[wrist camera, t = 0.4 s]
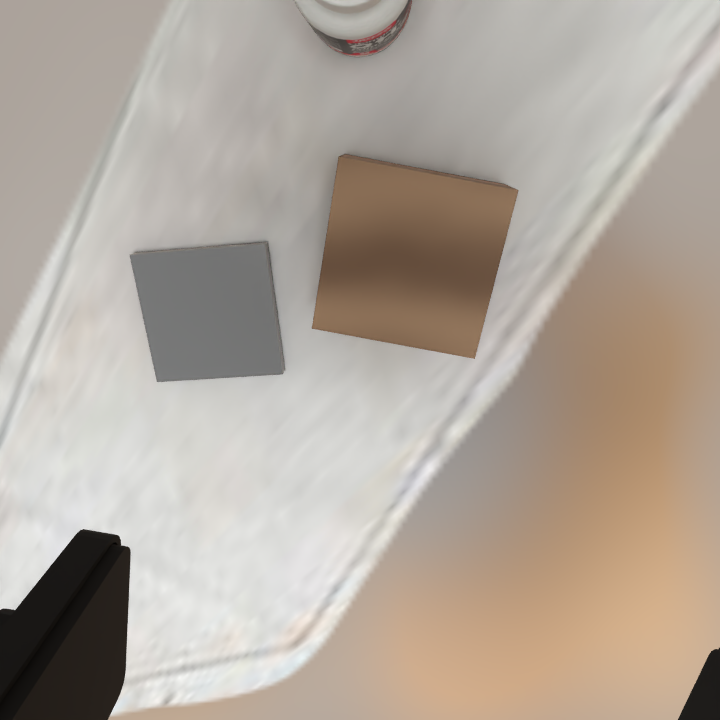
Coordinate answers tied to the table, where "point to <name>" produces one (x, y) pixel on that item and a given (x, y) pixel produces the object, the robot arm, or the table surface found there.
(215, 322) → the slate coaster
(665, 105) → the table surface
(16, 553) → the table surface
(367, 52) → the pill bottle
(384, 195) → the walnut block
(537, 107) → the table surface
